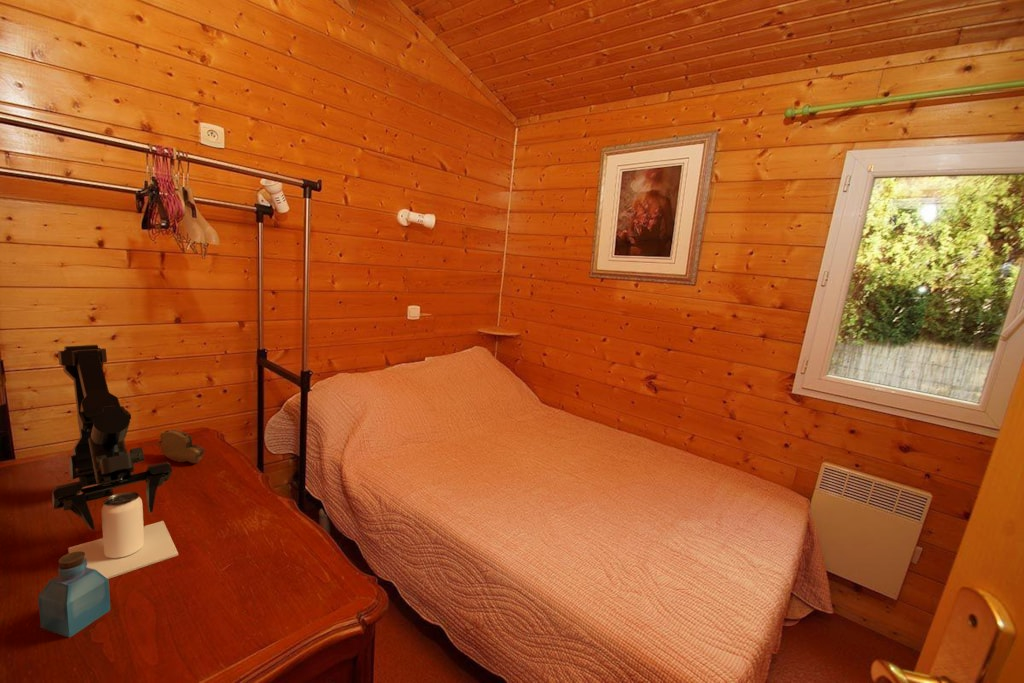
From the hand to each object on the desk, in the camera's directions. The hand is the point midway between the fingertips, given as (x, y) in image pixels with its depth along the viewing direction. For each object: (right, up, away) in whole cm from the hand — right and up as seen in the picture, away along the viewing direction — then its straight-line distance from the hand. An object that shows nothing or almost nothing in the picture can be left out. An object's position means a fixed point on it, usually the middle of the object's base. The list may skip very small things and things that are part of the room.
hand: (123, 521), depth 91 cm
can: (-2, -7, +2) cm, 8 cm away
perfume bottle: (+5, -11, -15) cm, 19 cm away
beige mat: (-2, -8, +2) cm, 8 cm away
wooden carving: (-21, 0, +44) cm, 49 cm away
